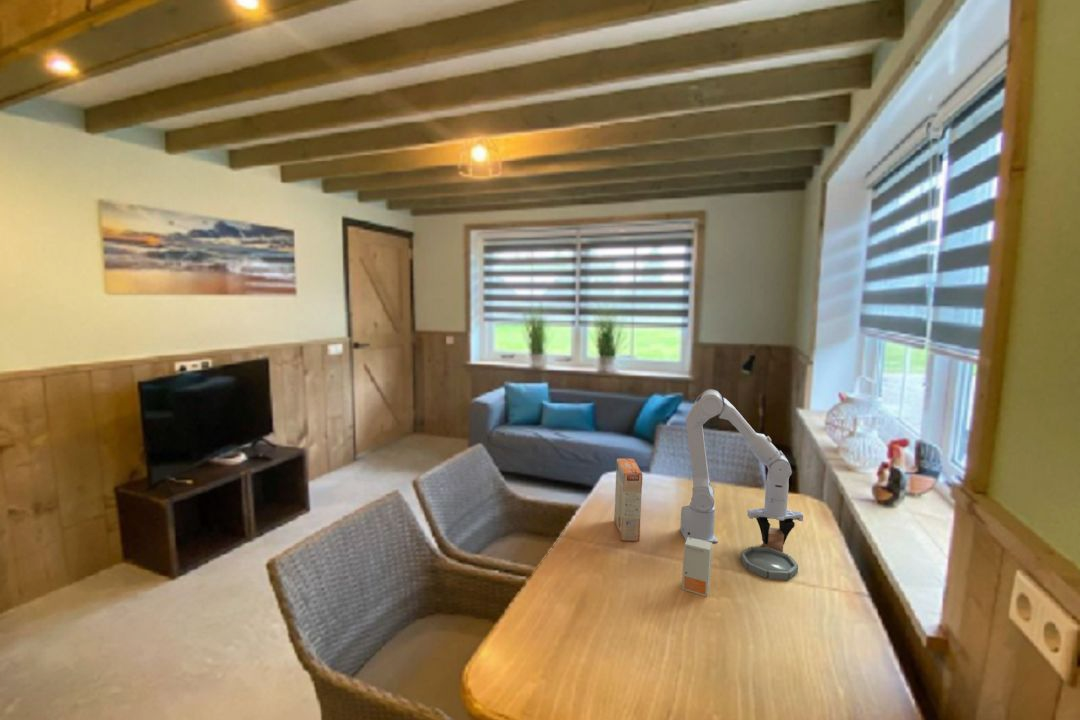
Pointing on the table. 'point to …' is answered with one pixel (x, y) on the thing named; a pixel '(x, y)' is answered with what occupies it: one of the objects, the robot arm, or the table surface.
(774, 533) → the block
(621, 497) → the cracker box
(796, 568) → the dish
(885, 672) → the table surface
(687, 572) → the skincare box
